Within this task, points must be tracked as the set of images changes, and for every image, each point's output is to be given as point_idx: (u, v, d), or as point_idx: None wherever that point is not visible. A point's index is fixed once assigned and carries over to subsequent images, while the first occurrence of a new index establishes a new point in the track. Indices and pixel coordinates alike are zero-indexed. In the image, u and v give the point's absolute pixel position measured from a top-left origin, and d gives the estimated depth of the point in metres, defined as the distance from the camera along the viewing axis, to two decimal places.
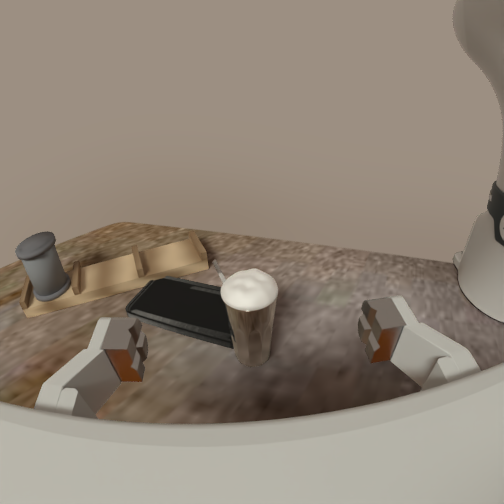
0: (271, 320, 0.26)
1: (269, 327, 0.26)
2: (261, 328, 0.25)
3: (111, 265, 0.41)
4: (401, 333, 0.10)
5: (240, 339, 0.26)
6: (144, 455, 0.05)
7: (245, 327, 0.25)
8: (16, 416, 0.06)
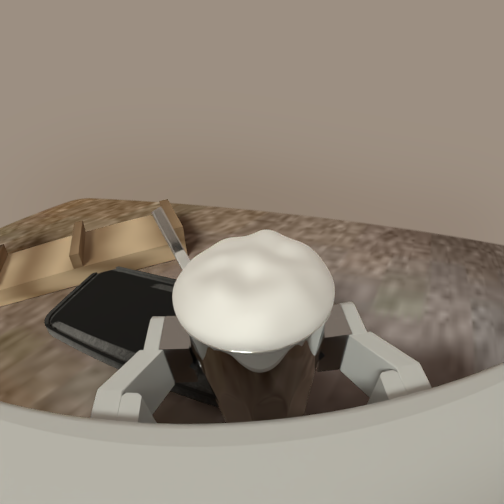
0: (314, 366, 0.09)
1: (307, 382, 0.10)
2: (288, 390, 0.09)
3: (44, 250, 0.24)
4: (347, 342, 0.09)
5: (233, 411, 0.10)
6: (144, 455, 0.05)
7: (244, 391, 0.08)
8: (16, 416, 0.06)
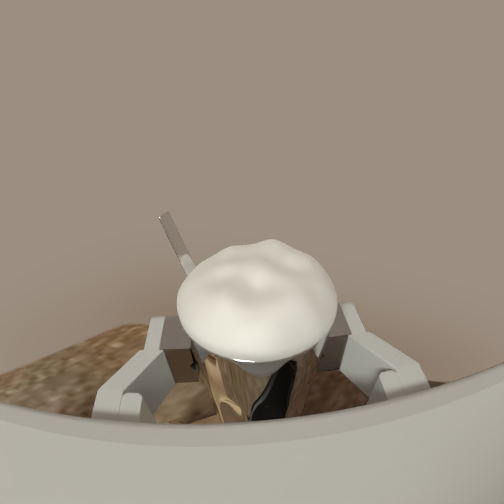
0: (313, 375, 0.09)
1: (305, 390, 0.10)
2: (287, 398, 0.09)
3: None
4: (346, 342, 0.09)
5: (231, 415, 0.10)
6: (144, 455, 0.05)
7: (244, 398, 0.08)
8: (16, 416, 0.06)
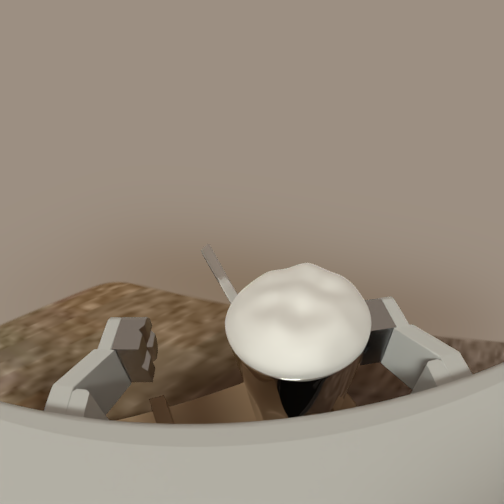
0: None
1: (343, 396, 0.10)
2: (329, 406, 0.09)
3: None
4: (391, 335, 0.10)
5: None
6: (144, 455, 0.05)
7: (292, 409, 0.09)
8: (16, 416, 0.06)
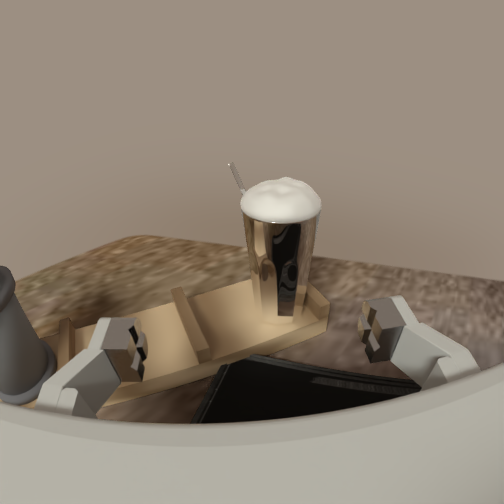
0: (312, 247, 0.18)
1: (308, 258, 0.19)
2: (299, 257, 0.18)
3: None
4: (401, 333, 0.10)
5: (266, 278, 0.19)
6: (144, 455, 0.05)
7: (277, 254, 0.17)
8: (16, 416, 0.06)
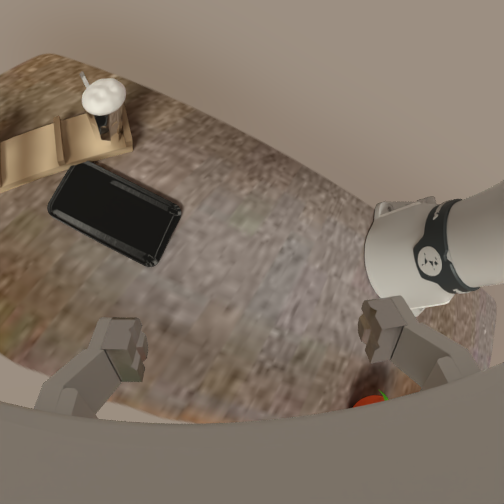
0: (117, 119, 0.29)
1: (116, 123, 0.29)
2: (108, 125, 0.28)
3: (31, 141, 0.30)
4: (401, 333, 0.10)
5: (94, 129, 0.29)
6: (144, 455, 0.05)
7: (96, 123, 0.28)
8: (16, 416, 0.06)
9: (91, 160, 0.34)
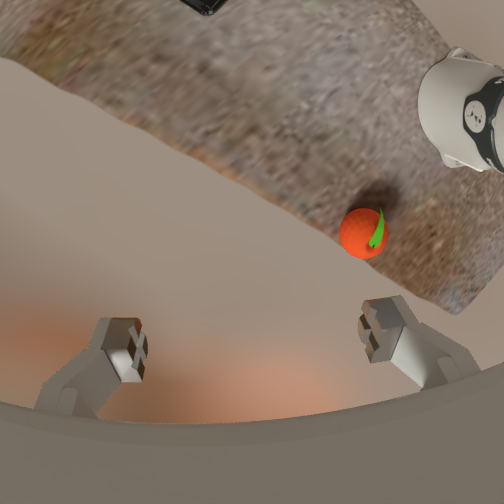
0: None
1: None
2: None
3: None
4: (401, 333, 0.10)
5: None
6: (144, 455, 0.05)
7: None
8: (16, 416, 0.06)
9: None
